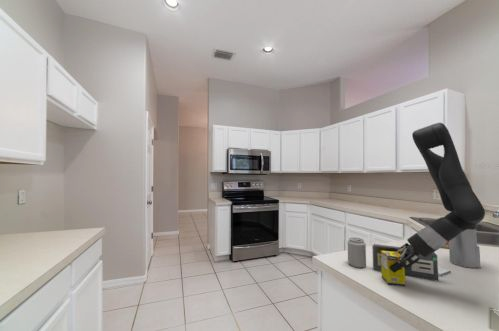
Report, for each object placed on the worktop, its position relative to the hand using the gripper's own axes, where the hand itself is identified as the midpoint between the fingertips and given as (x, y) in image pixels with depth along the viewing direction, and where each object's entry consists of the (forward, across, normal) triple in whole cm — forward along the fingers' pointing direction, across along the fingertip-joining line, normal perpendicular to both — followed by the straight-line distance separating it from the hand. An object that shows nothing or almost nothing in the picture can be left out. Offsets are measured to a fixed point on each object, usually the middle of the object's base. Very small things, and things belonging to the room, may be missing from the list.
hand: (390, 265), depth 80 cm
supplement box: (+4, 0, +5) cm, 6 cm away
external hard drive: (-7, -22, +16) cm, 28 cm away
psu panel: (0, -11, +8) cm, 13 cm away
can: (+13, -10, -4) cm, 17 cm away
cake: (-18, -65, +26) cm, 72 cm away
